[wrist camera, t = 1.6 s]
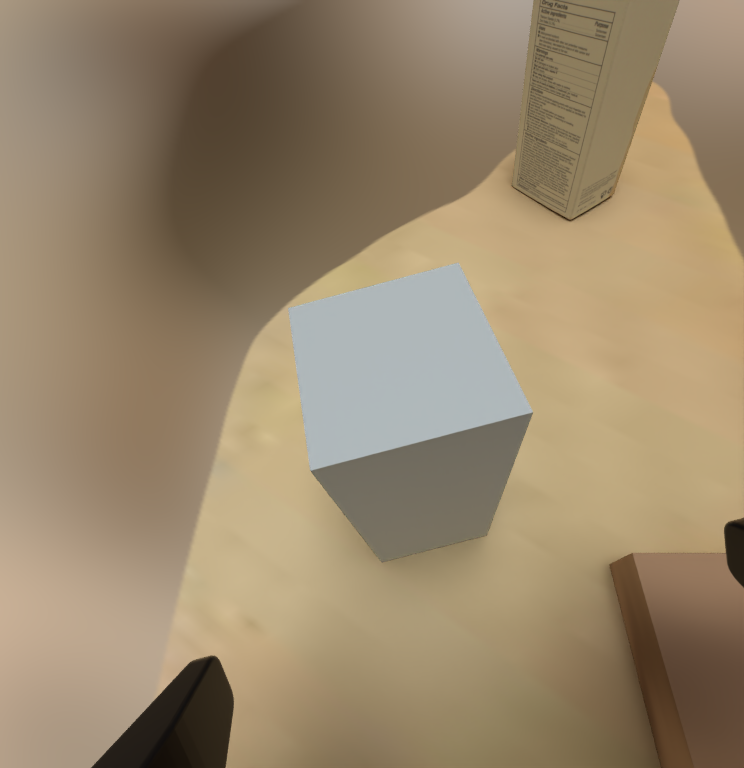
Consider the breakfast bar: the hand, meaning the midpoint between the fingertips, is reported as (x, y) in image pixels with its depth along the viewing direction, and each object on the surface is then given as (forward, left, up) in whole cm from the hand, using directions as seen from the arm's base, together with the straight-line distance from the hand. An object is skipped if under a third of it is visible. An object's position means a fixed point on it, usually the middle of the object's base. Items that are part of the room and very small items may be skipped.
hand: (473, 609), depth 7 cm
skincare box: (+29, -10, -12) cm, 33 cm away
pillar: (+6, +1, -12) cm, 13 cm away
